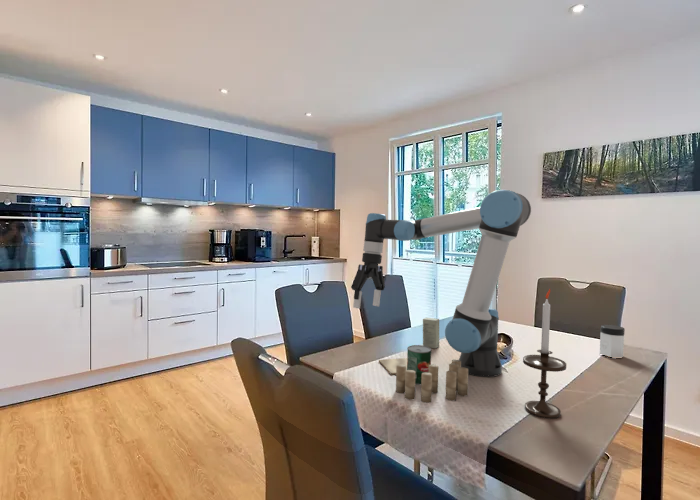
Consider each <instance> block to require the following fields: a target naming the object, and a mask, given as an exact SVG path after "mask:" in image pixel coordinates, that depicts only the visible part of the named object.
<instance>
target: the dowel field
mask: <svg viewBox="0 0 700 500" xmlns="http://www.w3.org/2000/svg"><path fill="white" fill-rule="evenodd" d="M395 375H396V376H395V392H396V393H398V394H404V398H405V399H406V400H408V401H413V400H415V399H416V384H415V371H413V370H406V366H405V365H401V364H399V365H397V366H396V374H395ZM420 388H421V389H420V390H421V391H420V392H421V393H420V401H421V402H422V403H424V404H431V402H432V394H436V393H438V392H439V366H438V364H432V363H431V365H429V373H426V372H425V373H422V379H421V385H420ZM468 388H469V374H468V369H467V368H465V367H461V361H460V360H459V359H452V360H451V362H450V363H448V370H447V371H446V372H445V399H446V400H447V401H452V402H453V401H456V399H457V395H458V396H460V397H467V396H468V393H469V391H468V390H469V389H468Z"/></svg>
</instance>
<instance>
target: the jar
mask: <svg viewBox="0 0 700 500" xmlns="http://www.w3.org/2000/svg"><path fill="white" fill-rule="evenodd" d="M624 342H625V328H624V327H622V326H620V325H615V324H601V325H600V339H599V355H600V354H603V355H607V356H610V357H623V358H624V344H625V343H624Z"/></svg>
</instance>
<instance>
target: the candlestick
mask: <svg viewBox="0 0 700 500" xmlns="http://www.w3.org/2000/svg"><path fill="white" fill-rule="evenodd" d="M550 294H551V289H548V291H547V292H546V295H545V302H544V303H543V304H542V315H541V316H542V319H541V320H542V321H541V342H540V344H541V346H540V347H541V348H540V349H537V350H536V352H537V353H540V354H527V355H524V356H523V357H522V362H523V364H524V365H526V366H527V367H530V368H531V369H534V370H535V369H536V370H538V371H540V372H541V373H540V381H539V382H537V386H538V388H539V391H538V395H539V396H540V397H539V400H529V401H526V402H525V404H524V410H525V411H526V412H527V413H528V414H530V415H532V416H534V417H538V418H540V419H541V418H542V419H548V420H549V419H550V420H551V419H552V420H554V419H558V418H560V417H561V415H562V413H561V412H562V411H561V409H560V407H557V406H556V405H554V404H552V403H550V402H547V401H546V397H547V396H548V395H549V392H547V390H548V389H549V387H550V385H549V383H548V382H547V375H548V373H547V372H553V373H555V372H557V373H558V372H563V371H565V370H567V362H566V361H565V360H562V359H560V358H557V357H554V356H550V355H552V354H553V353H554V352H553V351H551V350H549V349H550V345H549V344H550V326H551V324H550V323H551V322H550V321H551V304H550V303H549V296H550Z"/></svg>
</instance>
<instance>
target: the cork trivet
mask: <svg viewBox="0 0 700 500" xmlns="http://www.w3.org/2000/svg"><path fill="white" fill-rule="evenodd" d="M378 362H379V363H380V364H381V366H383V368H384V369H385V370H386V371H387V372H388V373H389V375H392V376H393V375H396V366H397V365H399V364H401V365H405V366H406V370H407V357H403V358H388V359H379V360H378Z"/></svg>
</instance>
